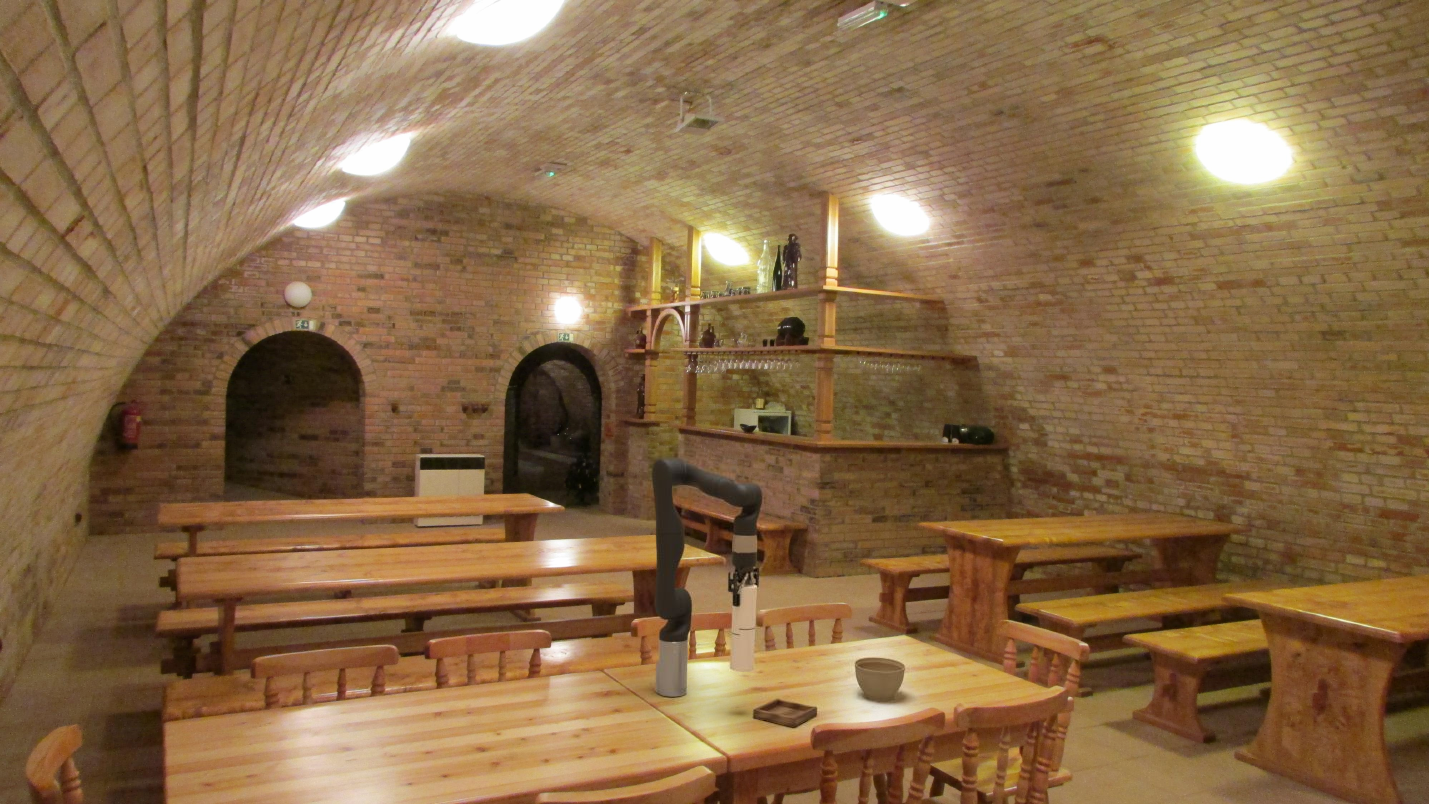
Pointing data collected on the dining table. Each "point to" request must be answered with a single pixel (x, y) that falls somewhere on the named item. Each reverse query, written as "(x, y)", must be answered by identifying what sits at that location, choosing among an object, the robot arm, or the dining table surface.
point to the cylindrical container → (743, 630)
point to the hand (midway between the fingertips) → (743, 604)
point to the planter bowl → (879, 677)
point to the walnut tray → (785, 712)
